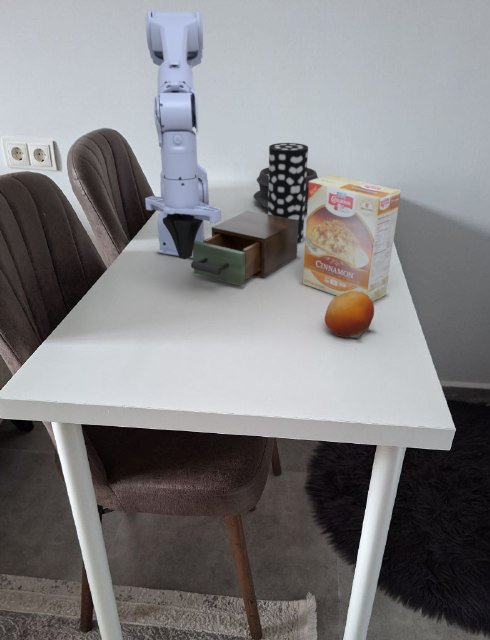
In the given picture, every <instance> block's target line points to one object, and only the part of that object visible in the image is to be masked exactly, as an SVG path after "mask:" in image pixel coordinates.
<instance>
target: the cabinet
mask: <svg viewBox="0 0 490 640" xmlns="http://www.w3.org/2000/svg"><path fill="white" fill-rule="evenodd" d="M298 223H299V220H294V219H289V218H284V217H279V216H273V215H268V213H263V212H257V211H253V210H246V211H243V212H242V213H239V214H237V215H235V216H232V217H230V218H228V219H226V220H224V221H221V222H219V223H217V224H214V225H213V226H211V237H212V236H214V235H216V234H218V233H223V234H227V235H232V236H236V237H241V238H245V239H250V240H254V241H259V242H262V243H261V270H260V271H259V272H257V273H255V274H254V275H252V276H251V277H255V278H260V279H266V278H268V277H269V276H271V275H272V274H274V273H276V272H277V271H279V270H280V269H282V268H284V267H285V266H286V265H288V264H289V263H291V262H293V261H294V260H296V259H297V258H298V243H297V241H298Z"/></svg>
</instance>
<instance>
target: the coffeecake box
mask: <svg viewBox="0 0 490 640" xmlns="http://www.w3.org/2000/svg"><path fill="white" fill-rule="evenodd" d="M401 192H402V189H397V188H391V187H388V186H383V185H378V184H374V183H369V182H365V181H361V180H356V179H351V178H347V177H343V176H339V175H334V174H330V175H326V176H322V177H318V178H316V179H313V180H311V181H309V189H308V206H307V209H306V225H305V239H304V241H305V242H304V255H303V256H304V258H303V271H302V272H303V274H302V285H305V286H308V287H310V288H314V289H317V290H319V291H322V292H325V293H327V294H331V295H333V296H335V297H336V296H340V295H342V294H344V293H346V292H349V291H357V292H363V293H365V294H367V295H368V296H369V298H370V299H371V300H372V302H373V303H374V302H375V301H378V300H379V299H382V298H383V297H385V296H386V292H387V286H388V280H389V273H390V267H391V260H392V254H393V253H392V252H393V246H394V239H395V233H396V227H397V221H398V212H399V206H400V200H401Z"/></svg>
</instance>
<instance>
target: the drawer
mask: <svg viewBox="0 0 490 640" xmlns="http://www.w3.org/2000/svg"><path fill="white" fill-rule="evenodd" d="M261 243H262V242H259V241H254V240H250V239H245V238H241V237H236V236H232V235H227V234H223V233H218V234H216V235H214V236H212V235H211V236H210V237H208V238H206V239H205V238H204V240H203V242H199V241H195V242H194V246H193V258H192V260H193V261H192V262H191V263H190V267H191V269H193V274H196V275H199V276H203V277H207V278H210V279H213V280H218V281H222V282H224V283H225V282H226V283H230V284H233V285H236V286H241V287H242V286H244V285H246V280H248V279H249V278H251V277H253V276H252V275H254V274H255V273H257V272H259V271H260V270H261Z"/></svg>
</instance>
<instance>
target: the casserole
mask: <svg viewBox="0 0 490 640" xmlns="http://www.w3.org/2000/svg"><path fill="white" fill-rule="evenodd" d="M316 178H319V177H318V173H317V171H316V170H315V169H312V168H309V167H307V177H306V194H305V211H307V206H308V189H309V181H311V180H313V179H316ZM256 182H257V183H258V185H259V190H258V191H256V192H255V193H254V194H253V199H254V200H255V201H257V202H258V203H260V204H261V205H262V206H263V207H264V208H265V209H268V183H269V166H268V167H265V168H263V169H261V170H260V172H259V175H258V177H257V178H256Z"/></svg>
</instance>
